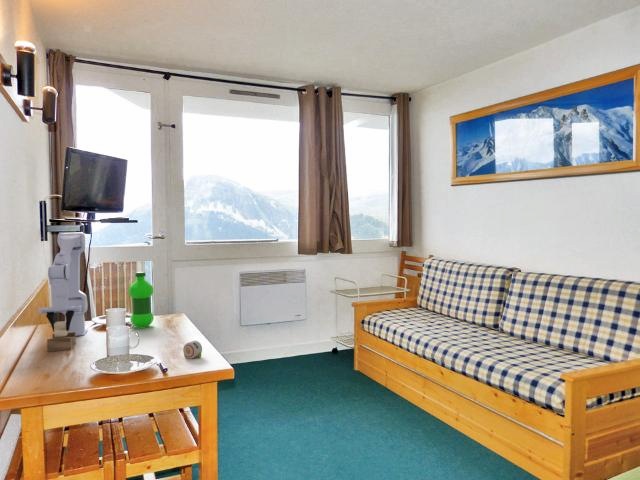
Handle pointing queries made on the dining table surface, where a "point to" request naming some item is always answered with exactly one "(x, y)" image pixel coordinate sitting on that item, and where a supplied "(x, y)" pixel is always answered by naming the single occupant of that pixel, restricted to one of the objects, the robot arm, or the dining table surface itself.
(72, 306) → the robot arm
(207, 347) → the dining table surface
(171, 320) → the dining table surface
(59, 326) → the birch block
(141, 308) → the plastic bottle
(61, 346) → the walnut cradle
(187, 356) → the roller toy
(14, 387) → the dining table surface
